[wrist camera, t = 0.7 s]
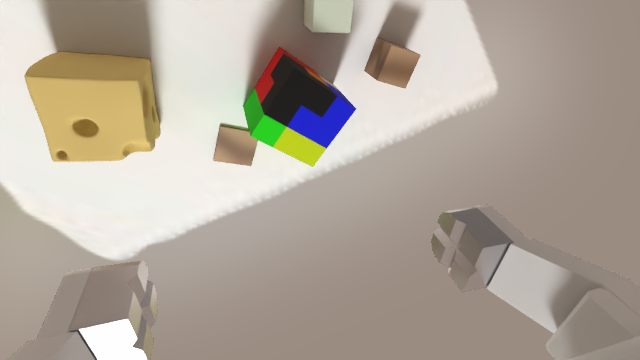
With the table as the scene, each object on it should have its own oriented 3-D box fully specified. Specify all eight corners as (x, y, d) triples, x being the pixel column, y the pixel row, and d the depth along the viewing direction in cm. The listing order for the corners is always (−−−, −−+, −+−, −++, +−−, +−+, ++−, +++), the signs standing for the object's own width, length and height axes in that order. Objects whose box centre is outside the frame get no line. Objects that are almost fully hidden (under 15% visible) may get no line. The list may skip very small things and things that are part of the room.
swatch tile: (220, 125, 49) (220, 126, 49) (259, 132, 52) (259, 133, 52) (213, 159, 52) (213, 160, 52) (250, 164, 55) (251, 165, 54)
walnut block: (376, 37, 49) (391, 45, 45) (403, 46, 51) (420, 55, 47) (364, 70, 51) (377, 80, 47) (390, 78, 53) (405, 88, 49)
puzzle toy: (332, 84, 51) (356, 108, 43) (297, 135, 54) (312, 166, 46) (279, 46, 46) (294, 67, 38) (243, 105, 49) (250, 136, 41)
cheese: (162, 128, 47) (153, 164, 40) (74, 127, 44) (45, 165, 36) (153, 54, 42) (141, 78, 34) (51, 45, 38) (12, 70, 31)
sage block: (305, -18, 42) (315, -15, 38) (341, -16, 43) (355, -12, 39) (303, 24, 45) (312, 32, 41) (337, 25, 46) (350, 33, 42)
